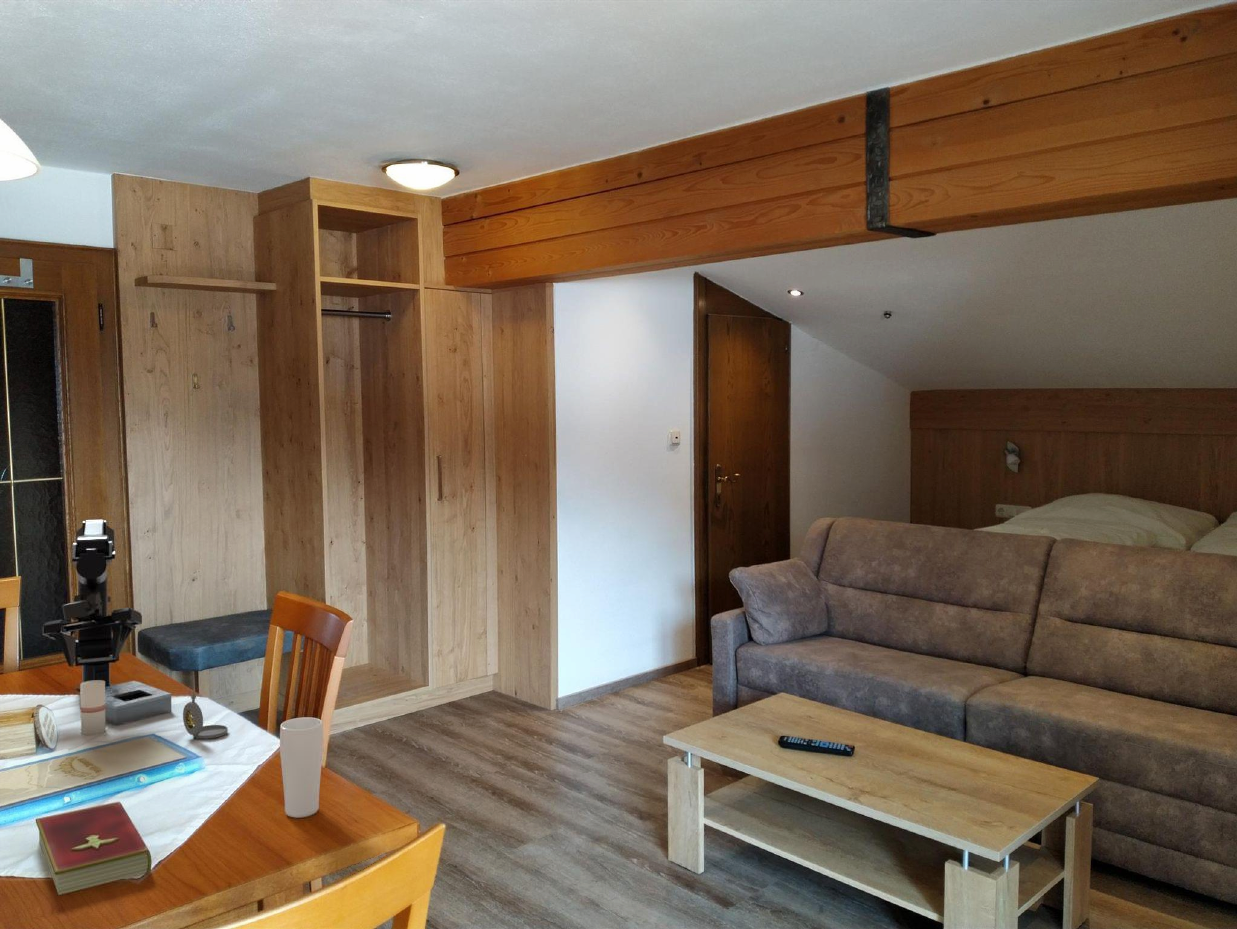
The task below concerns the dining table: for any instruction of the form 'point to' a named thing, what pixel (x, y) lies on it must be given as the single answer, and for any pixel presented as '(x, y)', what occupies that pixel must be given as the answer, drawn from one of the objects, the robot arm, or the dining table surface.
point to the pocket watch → (199, 722)
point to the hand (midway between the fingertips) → (92, 662)
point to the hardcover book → (92, 847)
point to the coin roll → (93, 707)
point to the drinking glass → (301, 764)
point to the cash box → (134, 702)
